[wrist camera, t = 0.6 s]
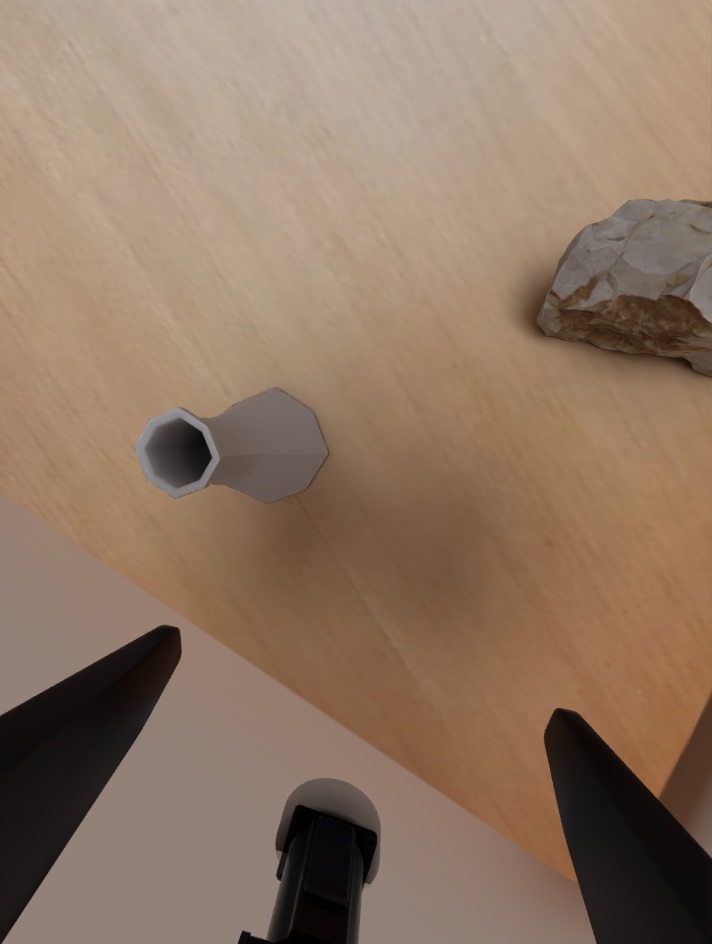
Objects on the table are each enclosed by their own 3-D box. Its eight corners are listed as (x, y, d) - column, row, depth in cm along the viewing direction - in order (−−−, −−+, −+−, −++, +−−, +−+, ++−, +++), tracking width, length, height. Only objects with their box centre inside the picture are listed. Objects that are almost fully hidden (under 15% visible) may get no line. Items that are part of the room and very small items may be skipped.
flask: (199, 438, 23) (49, 438, 13) (279, 367, 22) (182, 308, 12) (266, 521, 23) (169, 586, 13) (348, 455, 22) (312, 470, 12)
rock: (837, 260, 17) (1197, 76, 8) (763, 391, 18) (988, 363, 10) (568, 242, 21) (602, 115, 12) (529, 348, 23) (534, 303, 14)
